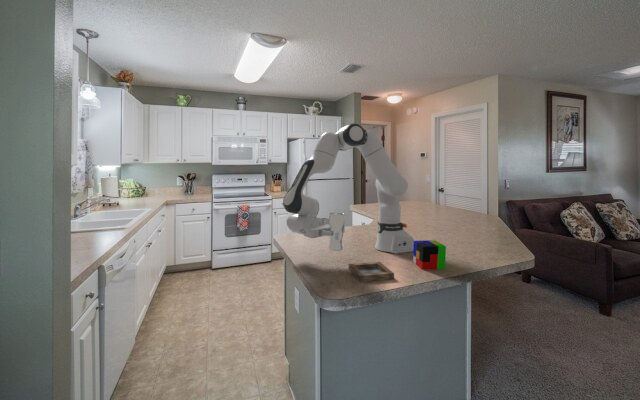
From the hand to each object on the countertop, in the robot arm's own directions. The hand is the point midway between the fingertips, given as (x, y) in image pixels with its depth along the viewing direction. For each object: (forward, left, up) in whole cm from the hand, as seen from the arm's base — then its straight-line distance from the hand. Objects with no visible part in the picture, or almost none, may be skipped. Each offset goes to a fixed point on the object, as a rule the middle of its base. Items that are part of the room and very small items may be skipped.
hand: (337, 232), depth 127 cm
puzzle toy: (-40, +3, -16) cm, 44 cm away
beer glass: (+1, -1, -7) cm, 7 cm away
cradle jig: (-11, +8, -16) cm, 21 cm away
